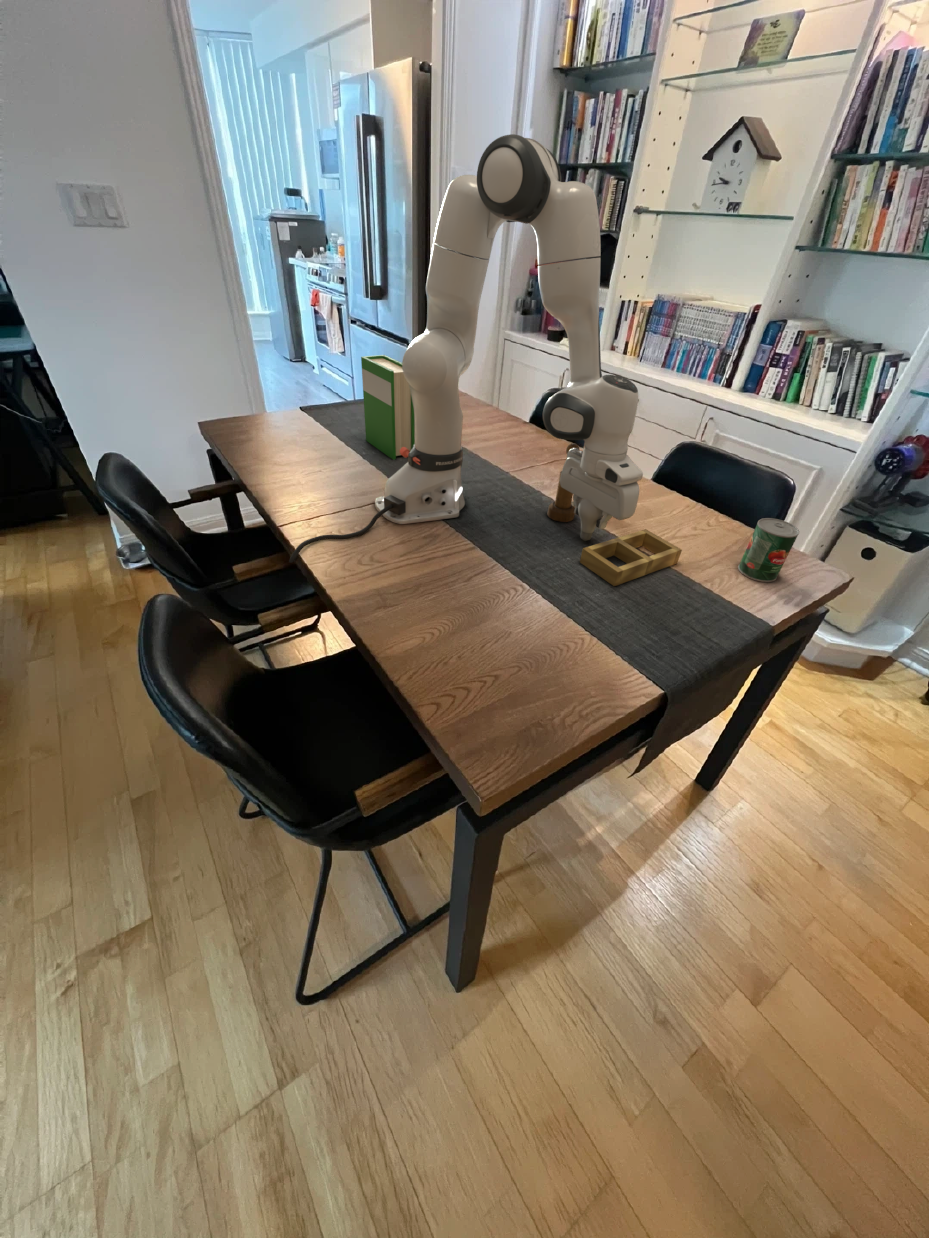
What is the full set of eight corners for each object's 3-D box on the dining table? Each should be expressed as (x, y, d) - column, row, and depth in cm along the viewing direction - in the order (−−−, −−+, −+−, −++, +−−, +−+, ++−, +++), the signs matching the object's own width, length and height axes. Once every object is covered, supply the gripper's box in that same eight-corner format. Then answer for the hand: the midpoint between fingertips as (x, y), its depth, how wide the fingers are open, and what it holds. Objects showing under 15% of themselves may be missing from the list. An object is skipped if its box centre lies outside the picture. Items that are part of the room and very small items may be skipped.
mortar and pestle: (576, 513, 132) (590, 442, 121) (571, 524, 127) (586, 451, 116) (550, 508, 134) (562, 437, 123) (544, 519, 129) (556, 446, 118)
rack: (614, 586, 107) (618, 572, 105) (579, 562, 114) (582, 548, 111) (677, 563, 116) (682, 549, 113) (641, 542, 122) (645, 528, 120)
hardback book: (415, 455, 157) (414, 368, 142) (393, 459, 153) (390, 371, 139) (387, 437, 168) (384, 354, 153) (366, 440, 165) (361, 356, 150)
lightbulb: (569, 543, 120) (578, 498, 113) (574, 531, 125) (584, 487, 118) (595, 549, 119) (606, 504, 112) (600, 537, 123) (611, 493, 116)
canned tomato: (774, 586, 110) (797, 540, 104) (735, 574, 113) (755, 528, 107) (778, 570, 116) (801, 525, 109) (741, 558, 119) (760, 514, 112)
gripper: (558, 447, 115) (549, 505, 124) (627, 481, 102) (611, 543, 111) (580, 443, 118) (569, 500, 127) (649, 476, 105) (632, 537, 113)
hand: (589, 520), depth 119 cm, fingers closed on lightbulb, 6 cm apart
